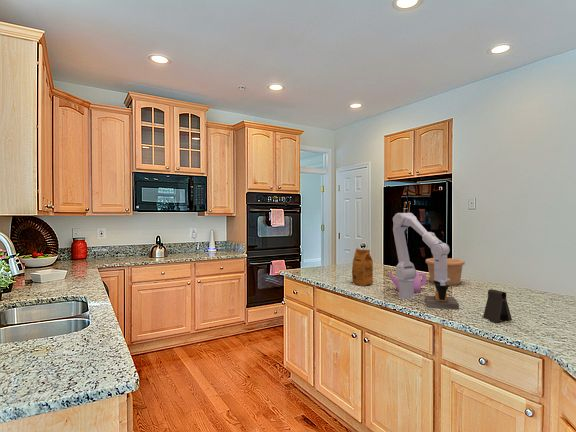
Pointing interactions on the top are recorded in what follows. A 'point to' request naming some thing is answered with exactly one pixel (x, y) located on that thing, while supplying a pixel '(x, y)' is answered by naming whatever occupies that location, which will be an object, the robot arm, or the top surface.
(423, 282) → the teakettle
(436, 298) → the orange block
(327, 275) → the top surface
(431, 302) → the pocket holder
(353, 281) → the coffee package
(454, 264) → the pottery
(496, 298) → the phone stand
